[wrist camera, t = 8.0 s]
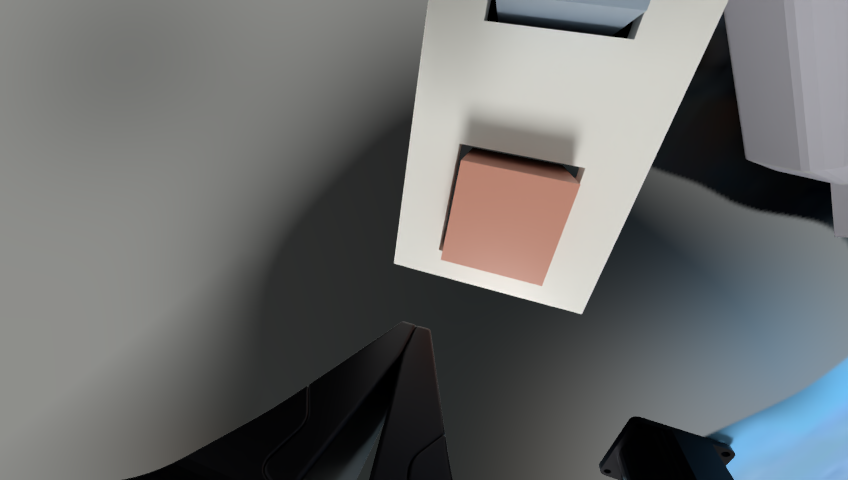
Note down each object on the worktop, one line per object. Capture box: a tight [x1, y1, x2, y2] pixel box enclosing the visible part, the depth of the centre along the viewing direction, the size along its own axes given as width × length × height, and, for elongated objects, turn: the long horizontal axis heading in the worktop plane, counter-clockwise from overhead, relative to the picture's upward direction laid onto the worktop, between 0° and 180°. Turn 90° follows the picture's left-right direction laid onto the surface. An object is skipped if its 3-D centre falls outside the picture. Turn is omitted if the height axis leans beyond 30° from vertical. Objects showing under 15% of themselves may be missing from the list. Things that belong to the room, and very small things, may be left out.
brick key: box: [441, 148, 581, 286], centre depth 15 cm, size 5×5×4 cm
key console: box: [394, 0, 728, 314], centre depth 14 cm, size 18×10×4 cm, turn 171°
